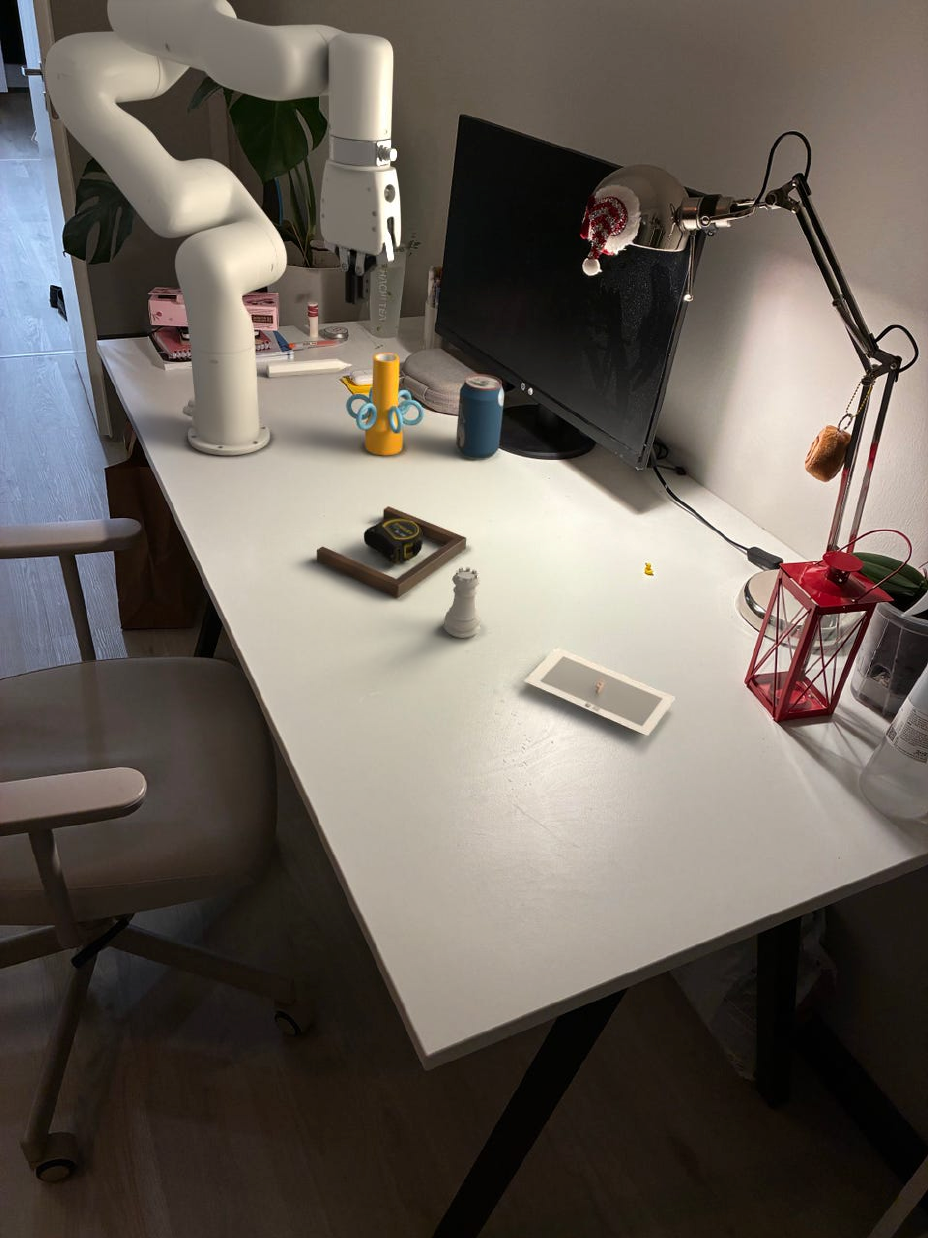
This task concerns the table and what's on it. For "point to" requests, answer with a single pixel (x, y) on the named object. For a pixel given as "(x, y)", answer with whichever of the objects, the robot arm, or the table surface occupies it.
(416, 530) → the tape measure
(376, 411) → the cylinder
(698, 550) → the table surface
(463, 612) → the rook chess piece
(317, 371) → the marker
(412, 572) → the frame
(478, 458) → the soda can
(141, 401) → the table surface
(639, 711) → the touchpad
